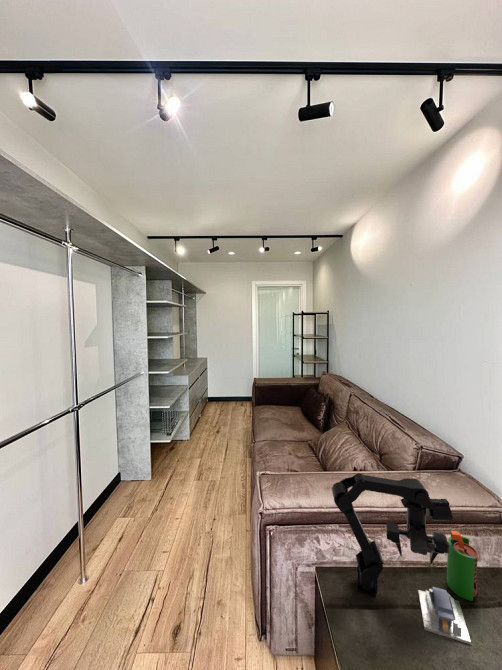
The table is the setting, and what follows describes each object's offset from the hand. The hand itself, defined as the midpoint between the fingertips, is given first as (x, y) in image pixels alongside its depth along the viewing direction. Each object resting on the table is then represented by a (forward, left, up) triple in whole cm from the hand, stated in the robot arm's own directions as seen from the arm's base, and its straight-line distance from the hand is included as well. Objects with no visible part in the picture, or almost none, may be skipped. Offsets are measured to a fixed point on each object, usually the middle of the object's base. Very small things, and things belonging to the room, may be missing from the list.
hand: (415, 559), depth 105 cm
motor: (+15, +7, -12) cm, 21 cm away
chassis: (+7, -7, -12) cm, 16 cm away
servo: (+7, -7, -11) cm, 15 cm away
